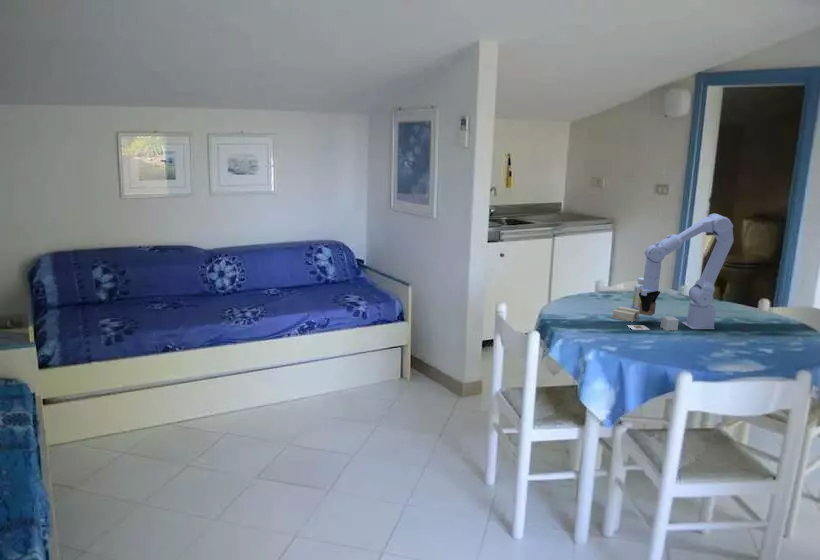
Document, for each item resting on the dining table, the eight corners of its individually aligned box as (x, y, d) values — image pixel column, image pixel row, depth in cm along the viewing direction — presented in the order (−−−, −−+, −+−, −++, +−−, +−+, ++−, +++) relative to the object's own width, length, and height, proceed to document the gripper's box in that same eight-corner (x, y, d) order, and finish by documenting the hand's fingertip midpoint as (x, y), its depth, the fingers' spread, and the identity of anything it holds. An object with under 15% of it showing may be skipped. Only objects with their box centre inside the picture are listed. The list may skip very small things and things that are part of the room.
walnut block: (643, 311, 262) (644, 300, 261) (654, 313, 259) (656, 302, 258) (639, 313, 258) (640, 302, 257) (650, 316, 256) (652, 304, 254)
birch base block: (618, 314, 271) (619, 306, 270) (638, 318, 267) (639, 310, 266) (612, 318, 265) (613, 310, 264) (632, 323, 260) (633, 314, 259)
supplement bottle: (651, 309, 280) (655, 279, 277) (641, 311, 276) (645, 281, 273) (638, 305, 285) (642, 276, 282) (628, 306, 282) (632, 277, 278)
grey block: (671, 327, 256) (672, 316, 255) (677, 331, 252) (678, 319, 251) (660, 327, 255) (661, 316, 254) (666, 331, 251) (667, 319, 250)
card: (643, 325, 256) (643, 325, 256) (649, 330, 251) (649, 329, 251) (626, 325, 255) (626, 324, 255) (632, 330, 250) (632, 329, 250)
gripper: (647, 271, 263) (643, 304, 266) (635, 277, 252) (630, 311, 255) (665, 274, 259) (661, 307, 262) (653, 280, 248) (649, 315, 251)
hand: (647, 310), depth 258 cm, fingers closed on walnut block, 4 cm apart
